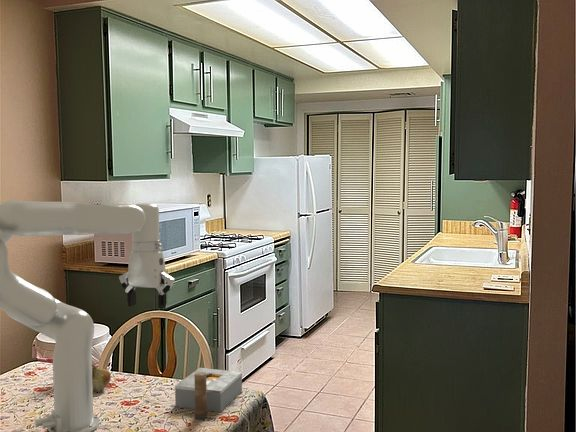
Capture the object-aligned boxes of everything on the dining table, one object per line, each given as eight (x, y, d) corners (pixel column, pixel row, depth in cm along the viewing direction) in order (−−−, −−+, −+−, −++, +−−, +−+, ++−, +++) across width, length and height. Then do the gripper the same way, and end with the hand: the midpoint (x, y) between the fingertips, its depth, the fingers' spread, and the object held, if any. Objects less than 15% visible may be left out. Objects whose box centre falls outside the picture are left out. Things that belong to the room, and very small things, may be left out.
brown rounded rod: (198, 420, 157) (197, 377, 156) (193, 416, 160) (192, 373, 159) (208, 417, 159) (208, 374, 158) (203, 413, 162) (203, 371, 161)
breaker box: (220, 412, 163) (220, 390, 162) (175, 406, 167) (175, 385, 166) (241, 391, 178) (241, 371, 178) (200, 386, 182) (199, 367, 182)
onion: (102, 395, 175) (101, 369, 174) (78, 393, 177) (77, 367, 176) (115, 386, 182) (115, 361, 181) (93, 384, 184) (92, 359, 184)
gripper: (179, 246, 167) (180, 305, 168) (126, 244, 172) (127, 302, 173) (166, 250, 160) (167, 311, 161) (111, 247, 165) (113, 307, 166)
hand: (147, 306), depth 167 cm, fingers open, 9 cm apart
